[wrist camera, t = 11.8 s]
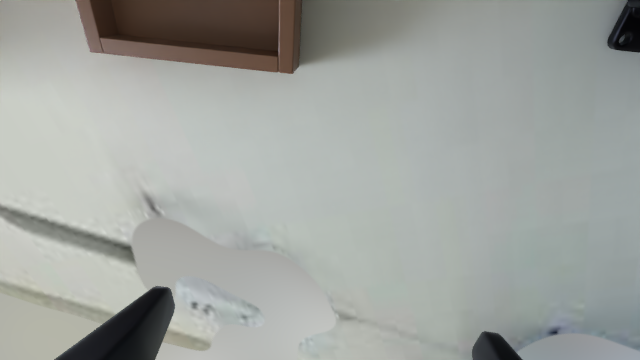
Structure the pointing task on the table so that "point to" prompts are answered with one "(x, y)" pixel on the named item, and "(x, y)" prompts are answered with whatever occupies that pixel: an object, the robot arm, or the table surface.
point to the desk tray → (198, 31)
